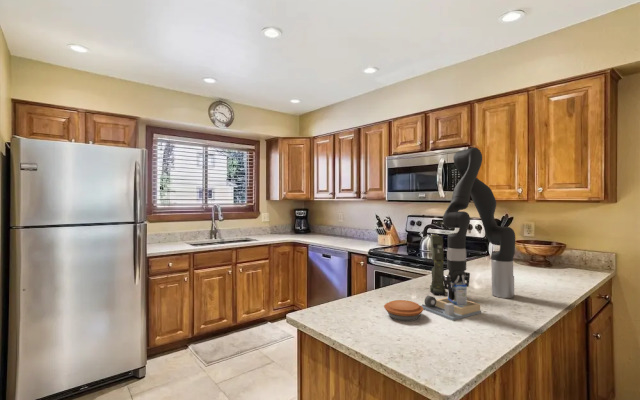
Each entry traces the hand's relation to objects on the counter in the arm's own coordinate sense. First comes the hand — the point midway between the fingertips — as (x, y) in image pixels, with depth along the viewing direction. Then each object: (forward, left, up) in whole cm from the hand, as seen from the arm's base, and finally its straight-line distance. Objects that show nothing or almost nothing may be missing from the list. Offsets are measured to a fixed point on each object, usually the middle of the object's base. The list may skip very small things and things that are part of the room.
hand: (456, 298), depth 138 cm
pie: (+24, -6, -5) cm, 25 cm away
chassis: (+3, -1, -5) cm, 6 cm away
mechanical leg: (-14, -23, -5) cm, 28 cm away
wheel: (+9, -6, -4) cm, 11 cm away
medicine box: (0, 0, -2) cm, 2 cm away
